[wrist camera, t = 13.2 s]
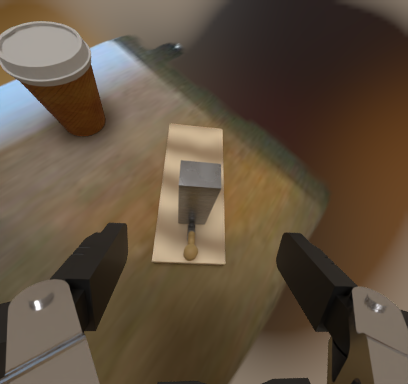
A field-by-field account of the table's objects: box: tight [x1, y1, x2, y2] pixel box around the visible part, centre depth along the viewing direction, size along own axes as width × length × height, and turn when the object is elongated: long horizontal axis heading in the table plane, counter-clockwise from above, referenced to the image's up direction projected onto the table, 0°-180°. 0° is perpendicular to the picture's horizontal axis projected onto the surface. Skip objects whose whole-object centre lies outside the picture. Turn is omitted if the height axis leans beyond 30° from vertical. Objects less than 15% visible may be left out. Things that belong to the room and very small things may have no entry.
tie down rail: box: [152, 123, 225, 265], centre depth 28 cm, size 22×9×4 cm, turn 179°
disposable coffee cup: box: [0, 21, 105, 136], centre depth 27 cm, size 10×10×12 cm
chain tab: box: [178, 160, 222, 241], centre depth 22 cm, size 9×4×11 cm, turn 179°
